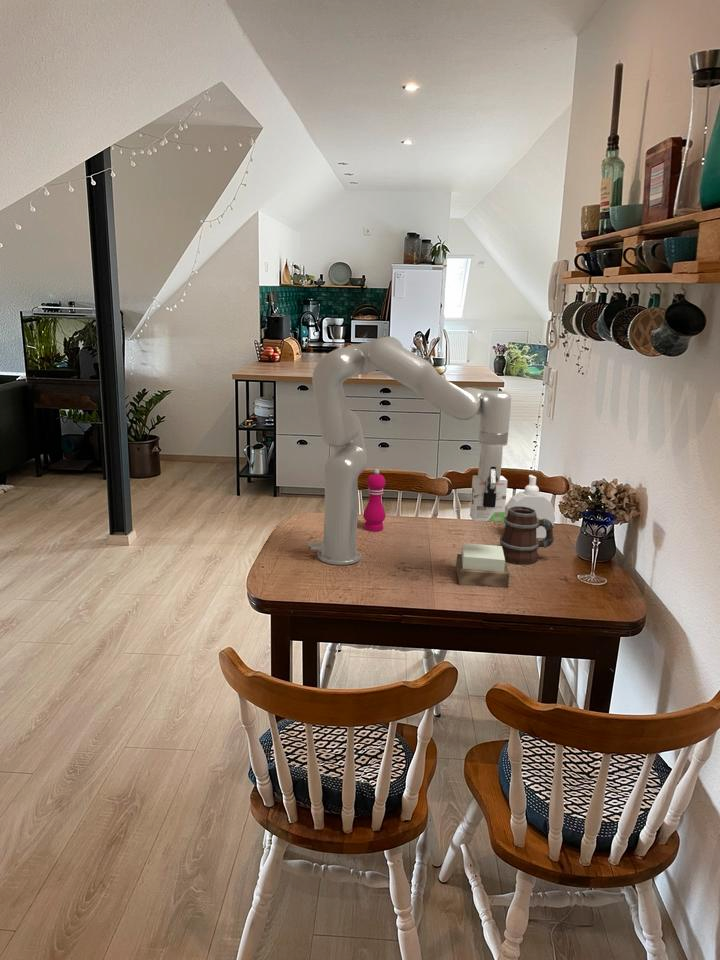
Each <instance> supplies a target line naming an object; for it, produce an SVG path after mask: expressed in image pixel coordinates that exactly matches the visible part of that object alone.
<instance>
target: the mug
mask: <svg viewBox="0 0 720 960" xmlns="http://www.w3.org/2000/svg"><path fill="white" fill-rule="evenodd" d="M504 523H505V527H504V529H503V533H502V536H500V538H499V546H502V549H503V553H504V557H505V563H511V564H515V565H531V564H534V563H536V562H538V560H539V552H538V549H539V548H544V549H545V548H548V547H550V546H551V545H552V544H553V543H554V540H555V537H554V532H553V530H554V525H552V523H551V522H550V521H549V520H548V519H545V518H543V519H539V518H537V515H536V511H535V510H534V509H531V508H528V507H523V506H514V507H511V508H510V509H509V510H508V514H507V516H506V517H504ZM539 526H543V527H545V529H546V537H545V538H542V539H541V540H540V539H539V538H536V528H539Z"/></svg>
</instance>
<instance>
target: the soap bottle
mask: <svg viewBox="0 0 720 960" xmlns="http://www.w3.org/2000/svg"><path fill="white" fill-rule="evenodd" d="M528 479H529V482H528V484H527V485H525V487H524V491H518V492H517V493H516V494H515V495H512V496H511V498H510V499H509V500H508V502H507V503H505V514H504V517H506V516H507V514H508V510H509V509H510V508H511V507H514V506H523V507H528V508H531V509H534V510H535V511H536V515H537V518H539V519H543V518H545V519H548V520H549V521H550V522H551V523H552V525H553V526H554V525H555V521H556V518H555V517H556V516H555V515H556V514H555V508H554V507H553V504H552V502H551V501H550V500H549V499H548V498H546V497H545V495H543V494H542V493H540V488H539V486H538V485H537V476H535V475H533V474H529V475H528ZM502 523H503V527H504V528H505V523H504V521H502ZM545 537H546V529H545V527H543V526H539V528H536V539H545Z"/></svg>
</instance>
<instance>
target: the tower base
mask: <svg viewBox="0 0 720 960" xmlns="http://www.w3.org/2000/svg"><path fill="white" fill-rule="evenodd" d="M507 566H508V565H507V562H505V567H504V572H495V571H483V570H471V569H463V565H462V553H457V554H456V564H455V569H456V573H457V578H458V584H459V586H471V587H484V586H488V587H487V588H500V587H502V589H503V587H504V589H509V584H510V583H509V582H510V571H509V569H508V567H507Z"/></svg>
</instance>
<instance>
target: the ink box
mask: <svg viewBox="0 0 720 960" xmlns="http://www.w3.org/2000/svg"><path fill="white" fill-rule="evenodd" d="M488 481H490V479H488ZM485 485H486V481H484V482H482V481H481V480H480V477H479V475H478V474H477V475H475V474H473V475H472V482H471V493H470V494H471V496H470V497H471V498H470V508H469V509H470V511H469V517H470V518H471V520H472V521H473V522H503V521H504V514H505V506H506V504H507V503H506V500H507V492H508V479H507V478H505V476H503V475H500V481H499V482H497V483H496V504H495V507H494V508H493V507H483V499H484V492H485ZM488 485H490V484H488Z"/></svg>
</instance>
